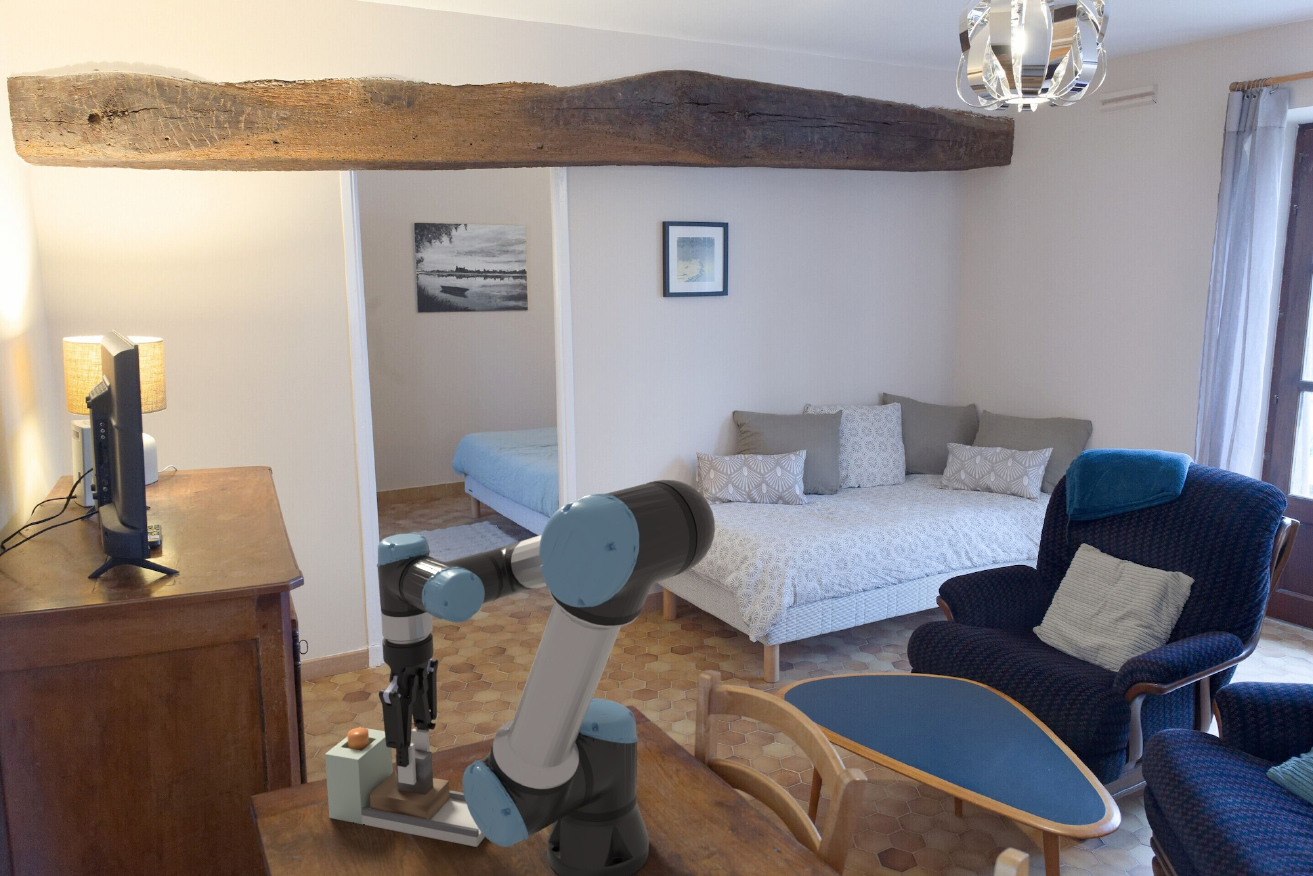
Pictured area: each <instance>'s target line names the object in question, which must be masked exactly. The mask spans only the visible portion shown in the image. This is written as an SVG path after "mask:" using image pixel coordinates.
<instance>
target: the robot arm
mask: <svg viewBox="0 0 1313 876" xmlns="http://www.w3.org/2000/svg"><path fill="white" fill-rule="evenodd" d="M715 531H716V525H715V517H714V513H713V510H712V508H711V506H710V503H709V502H708V500H707V498H706V497H705V496H704V495H703V494H702V493H701V492H700V491H699V490H697V489H696V487H693V486H692V485H690V484H687V483H686V482H682V481H678V480H674V479H660V480H653V481H649V482H645V483H642V484H639V485H634V486H631V487H627V488H624V489H619V490H614V491H610V492H608V493H593V494H588V495H585V496H583V497H581V498H579V499H577V500H574V501H570V502H568V503H565V504H564V505H562V506H561V507H560V508H558V509H557V510H556V511H555V512H553V514H552V515H551V516H550V517H549V519H547V522H546V524H545V525H544V527H543V531H542V534H540V535H536V536H533V537H530V538H527V539H524V540H520V541H517V542H513V543H511V544H507V545H503V546H500V547H496V548H494V549H489V550H486V551H483V552H481V551H480V552H479V553H474V554H470V555H467V556H466V555H465V556H463V557H459V558H456V559H451V560H448V561H447V560H446V561H442V560H439V559H437V558H434V557H432V556H430V553H431V550H430V547H429V542H428V539H427V537H425V536H424V535H421V534H418V533H402V534H394V535H390V536H387V537H385V538H383V539H381V541H379V543H378V544H377V564H376V568H377V575H378V576H377V577H378V578H377V579H378V592H379V604H380V616H381V634H382V637H383V638H382V640H381V643H382V660H383V662H384V663H385V664H386V665H387V666H388V667H389V669H390V674H389V679H388V680H389V681H388V682H389V684H388V686H387V688H386V689H383V688H382V689H380V690H379V691H378V697H379V700H380V702H381V707H382V717H383V726H384V727H383V728H384V731H385V739H386V747H389V748H392V749H395V753H396V754H395V755H396V756H395V758H396V757H397V765H398V782H400V783H406V784H412V785H414V784H415V783H416V766H415V749H417V750H423V751H429V752H431V749H430V748H431V747H430V745H431V744H430V730H432V731H434V730H435V728H436V725H437V723H436V722H435V723H434V722H432V721H435V720H436V719H437V718H438V694H437V693H438V692H437V691H438V690H437V689H438V688H437V687H438V686H437V683H438V682H437V681H438V680H437V674H438V666H439V660H438V659H435V658H433V657H434V635H433V634H432V632H433V627H434V626H433V617H434V618H435V619H440V620H444V621H448V622H451V623H455V624H457V623H458V624H460V623H464V622H467V621H469V620H471V619H473V617H474V615H476V614H477V613H478V612H479V611H480V610H481V608H482V606H483V605H485V604H488V603H491V602H494V601H497V600H499V599H503V598H506V597H509V596H513V595H517V594H520V593H524V592H528V591H533V590H536V589H539V588H544V587H547V588H548V593H549V595H550V598H551V599H552V601H553V605H552V608H551V611H550V613H549V617H548V619H547V622H546V624H545V628H544V631H543V633H542V635H541V639H540V642H539V645H538V647H537V650H536V653H535V656H534V659H533V662H532V665H531V667H530V671H529V673H528V676H527V679H526V681H525V684H524V688H523V690H522V692H521V696H520V699H519V702H518V705H517V707H516V711H515V713H514V716H513V719H511V720H508V721H507V722H506V723H504V724H503V725H501V726H500V728H499V729H498V730H497V732H496V734H495V735H494V739H493V742H492V744H491V747H490V750H489V753H488V754H487V755H486V756H484V758H481V759H476V760H474V761H473V762H472V763H471V764H469V765H468V766H467V767H466V768H465V770H464V772H463V775H462V782H461V783H462V793H464V797H465V801H466V804H467V806H468V809H469V812H470V814H471V816H472V818H473V820H474V822H475V823H476V825H477V827H478V828H479V829H480V831H481V832H482V833H483V835H484V836H485V838H486V839H487V840H489V842H491V843H492V844H494V845H497V846H499V847H503V848H507V847H511V846H514V845H515V844H517V843H520V842H524V841H527V840H528V839H529V837H531V836H533V835H534V834H537V833H539V832H540V831H542V830H543V829H546V828H547V827H550V825H551V827H550V829H549V832H548V833H549V834H548V836H547V841H546V842H547V843H546V851H547V852H546V853H547V862H548V864H549V865H550V867H551V868H552V870H553V871H554V872H555V873H556V874H557V875H559V876H633V875H634V874H636V873H637V872H638V871H640V869H641V868H643V867H644V865H645V863H646V862H647V861H648V858H649V854H650V844H649V843H650V842H649V841H650V838H649V833H648V830H647V829H648V828H647V827H646V824H645V822H644V819H643V816H642V814H641V813H642V812H641V810H640V807H639V804H638V793H637V791H638V740H639V737H638V734H637V723H636V718H635V715H634V713H633V711H631V710H630V709H629V708H628V707H627V706H626V705H623V704H621V703H619V702H617V701H614V700H610V699H606V698H605V699H604V698H599V697H597V698H596V697H594V696H595V693H596V691H597V688H598V687H599V686H598V685H599V683H600V681H601V678H602V676H603V673H604V670H605V668H606V666H607V663H608V660H609V658H610V656H611V653H612V651H613V648H614V645H615V643H616V640H617V639H618V636H619V633H620V631H621V628H623V627H625V626H627V625H630V624H632V623H633V622H634V621H636V620H637V618H638V617H639V616H640V615H641V613H642V610H643V608H644V606H645V603H646V600H647V598H648V595H649V593H650V591H651V589H652V587H653V586H654V585H655V584H656V583H659V582H661V581H664V580H667V579H670V578H671V577H672V578H673V577H674V576H678V575H680V574H682V573H686V572H687V571H690V570H691V569H693V568H694V567H695V566H698V564H699V563H700V562H702V560H703V559H704V558H705V557H706V555H707V554H708V552H709V551H710V549H711V547H712V544H713V541H714V539H715ZM412 726H414V728H413V727H412ZM412 728H413V729H412Z"/></svg>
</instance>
